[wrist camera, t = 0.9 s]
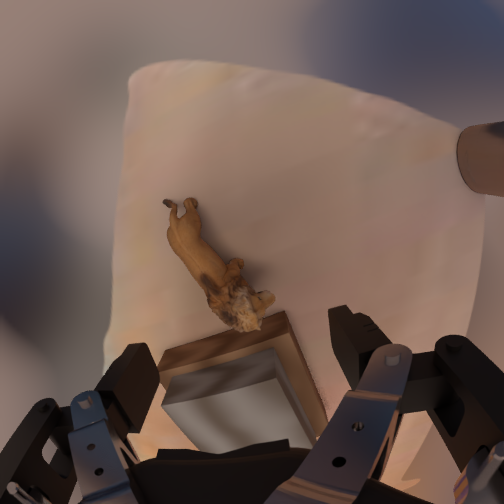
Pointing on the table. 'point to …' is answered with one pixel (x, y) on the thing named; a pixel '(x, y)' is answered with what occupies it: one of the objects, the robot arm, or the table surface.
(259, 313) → the lion figurine
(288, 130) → the table surface
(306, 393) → the wooden box
